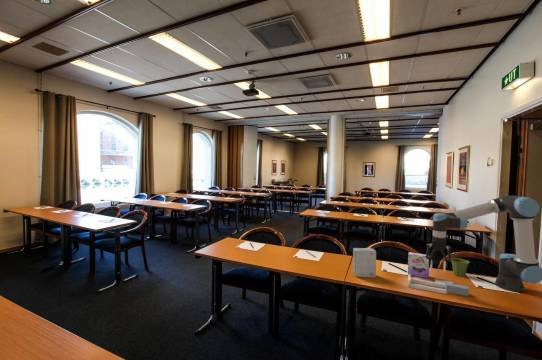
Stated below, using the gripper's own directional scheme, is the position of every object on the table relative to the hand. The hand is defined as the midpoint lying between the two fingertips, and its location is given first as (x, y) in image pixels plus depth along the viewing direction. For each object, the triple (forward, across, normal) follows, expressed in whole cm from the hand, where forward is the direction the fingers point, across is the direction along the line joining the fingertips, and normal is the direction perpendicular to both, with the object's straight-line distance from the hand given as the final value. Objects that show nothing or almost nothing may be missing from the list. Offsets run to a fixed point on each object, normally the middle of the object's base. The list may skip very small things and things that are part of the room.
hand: (437, 270), depth 174 cm
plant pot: (+13, -19, -38) cm, 45 cm away
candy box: (+13, +10, -21) cm, 27 cm away
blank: (+13, -11, 0) cm, 17 cm away
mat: (+13, -6, -12) cm, 19 cm away
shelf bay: (+13, +6, 0) cm, 15 cm away
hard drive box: (+13, +47, -1) cm, 49 cm away
